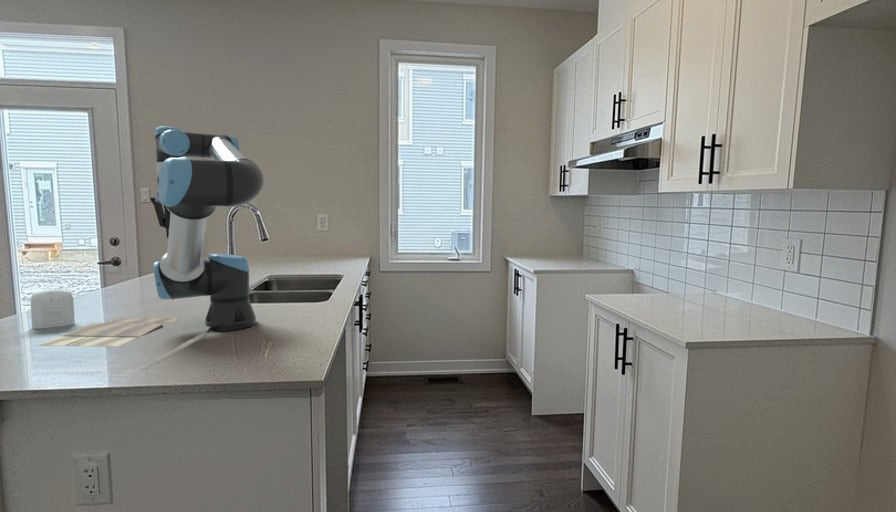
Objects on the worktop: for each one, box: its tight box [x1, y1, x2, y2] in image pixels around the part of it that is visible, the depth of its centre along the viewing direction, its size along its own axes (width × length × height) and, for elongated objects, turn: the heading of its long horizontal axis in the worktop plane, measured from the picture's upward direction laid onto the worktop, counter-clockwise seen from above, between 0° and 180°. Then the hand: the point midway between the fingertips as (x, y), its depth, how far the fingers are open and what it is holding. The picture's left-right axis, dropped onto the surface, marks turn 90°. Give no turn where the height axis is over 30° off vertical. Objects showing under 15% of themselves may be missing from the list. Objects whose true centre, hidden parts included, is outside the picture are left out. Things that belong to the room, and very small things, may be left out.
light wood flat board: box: [37, 334, 140, 348], centre depth 132 cm, size 22×9×1 cm, turn 90°
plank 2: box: [106, 317, 181, 324], centre depth 155 cm, size 20×6×1 cm, turn 95°
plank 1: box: [64, 322, 164, 338], centre depth 143 cm, size 22×11×1 cm, turn 90°
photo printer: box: [29, 289, 76, 330], centre depth 146 cm, size 10×4×12 cm, turn 123°
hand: (174, 248), depth 157 cm, fingers closed
